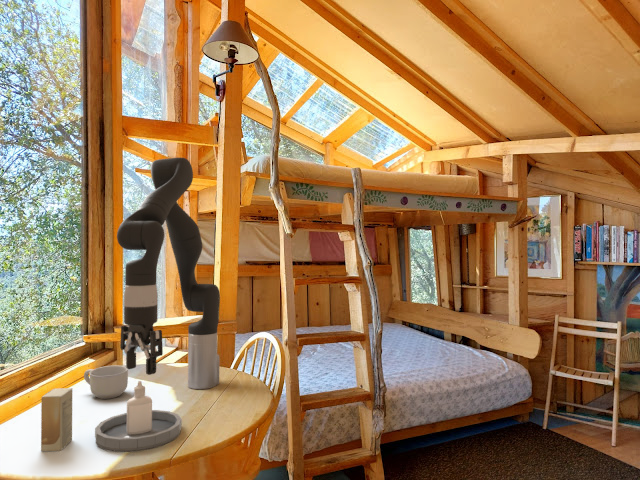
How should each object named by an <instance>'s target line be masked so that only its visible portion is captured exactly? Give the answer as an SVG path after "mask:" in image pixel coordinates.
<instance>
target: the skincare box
mask: <svg viewBox="0 0 640 480" xmlns="http://www.w3.org/2000/svg"><path fill="white" fill-rule="evenodd" d="M40 405H41V407H40V408H41V409H40V411H41V413H40V415H41V417H40V419H41V420H40V421H41V422H40V423H41V424H40V425H41V427H40V429H41V430H40V433H41V435H40V436H41V437H40V439H41V441H40V446H41V447H40V451H41V452H60V451H62V450H63V449H64V448H65V447H66V446H68V445H69V443H70V442H71V441H72V440H73V388H71V387H69V388H68V387H67V388H64V387H63V388H60V387H59V388H52V389H50V390H49V391H48V392H47V393H45V394H44V395H42V396H41V404H40Z"/></svg>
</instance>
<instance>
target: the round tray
mask: <svg viewBox="0 0 640 480" xmlns="http://www.w3.org/2000/svg"><path fill="white" fill-rule="evenodd" d="M182 424H183V423H182V417H180V415H179V414H177V413H174V412H171V411H169V410H160V409H152V430H151V431H149V432H146V433H142V434H135V435H129V434H128V433H127V412H124V413H121V414H117V415H114V416H110V417H109V418H107V419H105V420H102V421H100V422H99V424H98V425H96V427H95V429H94V438H95V445H96V447H98V448H100V449H102V450H105V451H106V452H107V451H109V452H115V453H116V452H117V453H131V452H132V453H133V452H141V451H147V450H152V449H155V448H158V447H162V446H164V445H167V444H169V443H171V442H173V441H175V440H176V439H177V438H178V437H180V435H181V429H182Z"/></svg>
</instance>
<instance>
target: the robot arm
mask: <svg viewBox="0 0 640 480" xmlns="http://www.w3.org/2000/svg"><path fill="white" fill-rule="evenodd" d="M193 171H194V170H193V167H192V164H191V162H190V160H189V159H187V157H186V158H185V157H171V158H170V157H169V158H161V159H155V160H153V161H152V162H151V165H150V174H151V176H150V177H151V181H152V184H153V186H154V190H153V191H151V192H150V193H149V194H148V195H146V197H145V198H144V200H143V201H142V203H141V205H140V206H139V208H138V209H137V210H136V211H134V212H132V213H131V214H130V215H129V216H127V217H126V218H125V219H124V220H123V221H122V222H121V223H120V225H119V227H118V229H117V233H116V240H117V243H118V244H119V246H120V247H121V248H122V249H124V250H130V251H145V253H144V255H142V257H141V258H138V259H137V258H136V259H134V260H133V259H132V260H130V261H129V260H128V262H126V264H125V269H124V271H125V282H124V283H125V288H124V296H123V299H124V300H123V302H124V304H123V305H124V306H123V308H124V309H123V312H124V313H123V323H124V325H121V327H120V345H119V347H120V350H122V351H124V353H125V357H126V358H125V361H126V363H125V364H126V365H125V366H126V368H127V369H128V370H131V369H135V368H136V367H137V350H138V347H139V348H140V350H141V351H142V352H144V355H145V357H146V359H145V373H146V375H147V376H148V375H151V376H152V375H155V374H157V373H156V372H157V358H158V357H160V356H163V354H164V353H163V352H164V351H163V331H162V330H161V329H156V330H154V327H153V326H154V324H156V323H157V322H158V288H157V287H158V286H157V268H158V262H159V257H160V254H161V252H162V251H161V250H162V248H163V247H162V246H163V244H164V240H165V229H164V227H163V225H164V224H165V225H166V227H167V228H166V229H167V232H168V236H169V241H170V245H171V248H172V251H173V255H174V259H175V263H176V268H177V272H178V278H179V284H180V290H181V296H182V302H183V304H184V307H185V309H186V310H187V311H189V312H194V313H196V312H197V313H202V317H201V318H200V319H199V320H198V321H195V322H192V323H190V324H189V325H188V330H187V331H188V334H187V335H188V336H187V337H188V341H187V343H188V348H187V351H188V353H187V354H188V355H187V356H188V357H187V358H188V359H187V360H188V361H187V362H188V363H187V387H188V388H189V389H194V390H205V389H211V388H213V387H214V388H215V387H216V386H217V385H219V384H220V359H221V358H220V354H218V326H219V322H220V320H219V317H220V306H221V305H220V304H221V303H220V302H221V295H220V290H219V287H218V286H217V285H216V284H215V283H214V284H213V283H198V282H197V280H196V279H197V278H196V274H195V273H196V271H195V270H196V266H197V263H198V261H199V259H200V256H201V254H202V251H203V241H202V236H201V232H200V229H199V225H197V223H196V221H195V220H194V219H193V218H192V217H191V216H190V214H188V213H187V212H186V211H185V210H184V209H183V208H182V207H181V206H180V204H179V203H178V200H179V199H181V197H183V195H184V194H185V193H186V192H187V190H188V189H189V188H190V187H191V185H192V183H193V179H194V172H193Z"/></svg>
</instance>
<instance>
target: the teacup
mask: <svg viewBox="0 0 640 480" xmlns="http://www.w3.org/2000/svg"><path fill="white" fill-rule="evenodd" d="M83 373H84V374H83V377H84V381H85V382H86V383H87V384H88V385H89V387H90V391H91V393H92V395H93V396H95V397H96V398H98V399H103V400H107V399H114V398H116V397H117V398H118V397H119V396H121V395H122V394H123V393H124V392H125V391H126V390H127V388H128V384H129V383H128V382H129V381H128V378H129V369H127V368H126V365H106V366H101V367H97V368H94V369H93V368H90V369H86V370H85V371H84V372H83Z"/></svg>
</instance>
